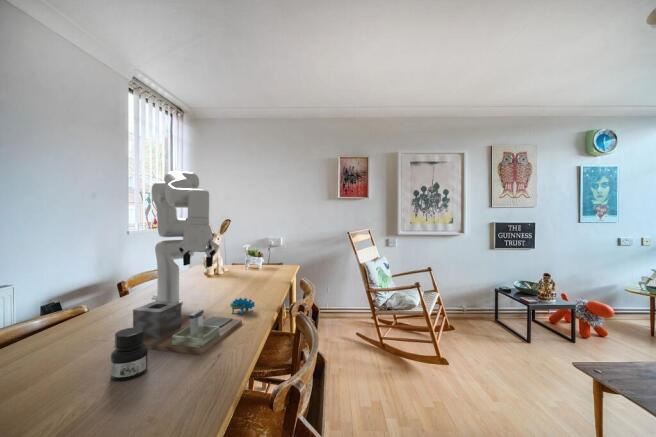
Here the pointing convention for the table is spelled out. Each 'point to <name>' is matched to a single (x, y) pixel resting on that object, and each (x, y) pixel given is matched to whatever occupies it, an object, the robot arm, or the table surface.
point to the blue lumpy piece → (241, 304)
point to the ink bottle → (129, 354)
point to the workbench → (178, 328)
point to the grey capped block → (196, 324)
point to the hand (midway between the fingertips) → (197, 265)
